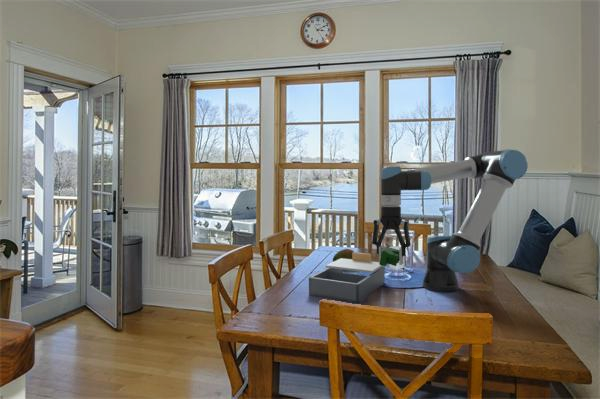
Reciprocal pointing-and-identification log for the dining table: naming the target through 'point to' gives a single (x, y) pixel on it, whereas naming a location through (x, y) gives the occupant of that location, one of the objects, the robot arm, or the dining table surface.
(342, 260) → the lid
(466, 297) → the dining table surface
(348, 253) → the fruit
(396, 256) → the clamp
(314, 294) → the housing
